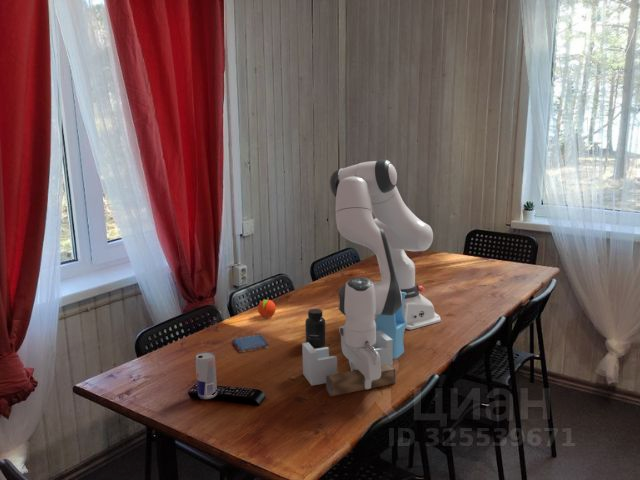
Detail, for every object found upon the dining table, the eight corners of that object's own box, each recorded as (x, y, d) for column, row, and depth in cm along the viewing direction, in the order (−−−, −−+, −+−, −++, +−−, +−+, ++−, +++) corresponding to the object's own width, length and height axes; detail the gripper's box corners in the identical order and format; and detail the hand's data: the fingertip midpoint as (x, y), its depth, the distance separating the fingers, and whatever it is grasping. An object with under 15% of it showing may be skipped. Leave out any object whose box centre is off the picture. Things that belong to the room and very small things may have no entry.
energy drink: (199, 391, 163) (196, 352, 160) (218, 389, 163) (215, 351, 160) (197, 400, 157) (193, 360, 155) (216, 399, 158) (213, 359, 155)
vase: (395, 359, 180) (396, 299, 175) (373, 354, 184) (373, 295, 180) (405, 350, 186) (406, 292, 182) (384, 346, 190) (384, 289, 186)
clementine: (272, 321, 215) (271, 303, 214) (255, 320, 217) (254, 303, 215) (278, 314, 223) (277, 297, 222) (261, 313, 224) (260, 296, 223)
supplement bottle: (311, 349, 189) (310, 315, 186) (302, 342, 195) (301, 309, 192) (329, 345, 192) (328, 312, 189) (320, 338, 198) (319, 306, 195)
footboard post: (328, 369, 174) (327, 339, 172) (337, 380, 167) (336, 349, 164) (303, 374, 171) (302, 343, 169) (311, 385, 164) (310, 353, 162)
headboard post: (381, 359, 180) (381, 330, 178) (392, 370, 172) (392, 339, 170) (357, 364, 177) (357, 334, 175) (368, 374, 170) (368, 343, 168)
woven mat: (231, 343, 197) (230, 338, 196) (260, 338, 201) (260, 333, 200) (239, 355, 187) (238, 349, 187) (269, 349, 191) (269, 343, 191)
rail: (389, 378, 168) (390, 364, 167) (395, 383, 164) (395, 368, 163) (326, 390, 161) (326, 375, 160) (330, 396, 158) (330, 381, 157)
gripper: (386, 347, 151) (386, 395, 154) (356, 322, 170) (357, 365, 173) (365, 351, 149) (365, 399, 152) (336, 325, 168) (337, 368, 171)
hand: (360, 381), depth 162 cm, fingers open, 8 cm apart
